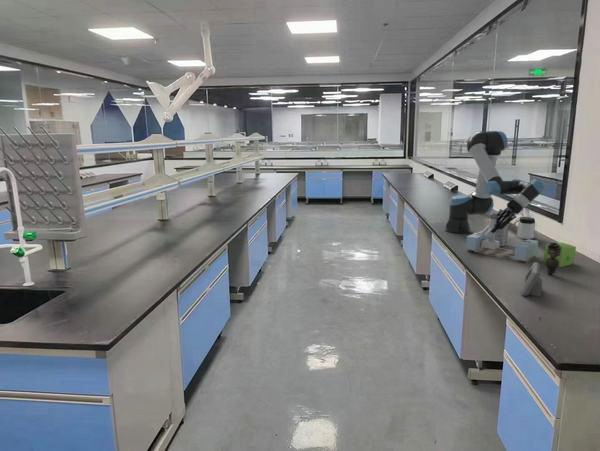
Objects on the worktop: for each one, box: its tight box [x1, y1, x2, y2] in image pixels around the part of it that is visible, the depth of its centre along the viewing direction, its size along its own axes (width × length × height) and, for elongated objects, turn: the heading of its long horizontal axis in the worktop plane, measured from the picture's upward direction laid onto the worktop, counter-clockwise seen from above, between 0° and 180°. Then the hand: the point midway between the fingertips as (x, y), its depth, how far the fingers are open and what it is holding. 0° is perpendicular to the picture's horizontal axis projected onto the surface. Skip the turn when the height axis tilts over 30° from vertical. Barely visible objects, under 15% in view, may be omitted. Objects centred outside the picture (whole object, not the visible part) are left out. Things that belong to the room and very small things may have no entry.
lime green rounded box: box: [542, 241, 578, 268], centre depth 198 cm, size 18×10×10 cm, turn 116°
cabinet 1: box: [465, 230, 487, 250], centre depth 224 cm, size 5×16×8 cm, turn 132°
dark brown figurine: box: [545, 242, 562, 276], centre depth 183 cm, size 6×6×15 cm
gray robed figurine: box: [520, 262, 543, 297], centre depth 165 cm, size 16×9×11 cm, turn 138°
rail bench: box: [467, 247, 536, 264], centre depth 216 cm, size 30×12×2 cm, turn 42°
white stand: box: [481, 212, 500, 250], centre depth 217 cm, size 7×6×19 cm
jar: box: [516, 216, 536, 240], centre depth 248 cm, size 9×8×12 cm
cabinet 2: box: [514, 239, 539, 261], centre depth 206 cm, size 5×16×8 cm, turn 132°
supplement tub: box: [495, 223, 510, 247], centre depth 233 cm, size 10×10×15 cm
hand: (484, 235), depth 218 cm, fingers closed on white stand, 4 cm apart
